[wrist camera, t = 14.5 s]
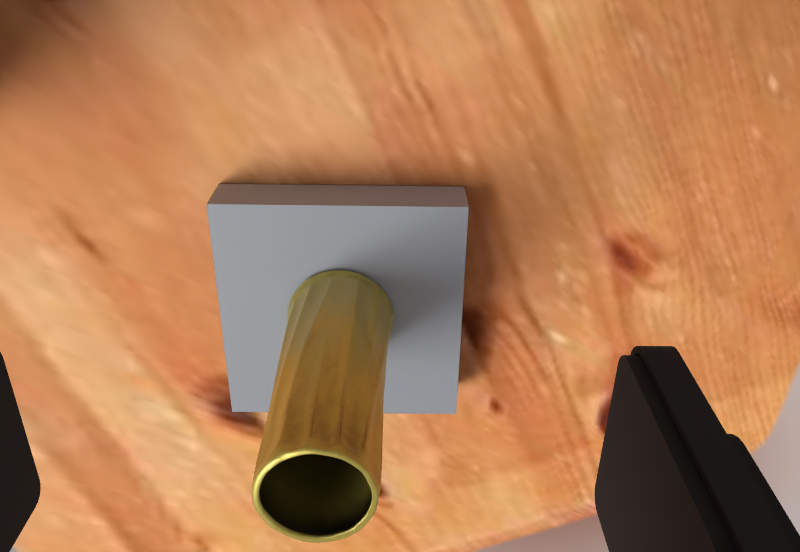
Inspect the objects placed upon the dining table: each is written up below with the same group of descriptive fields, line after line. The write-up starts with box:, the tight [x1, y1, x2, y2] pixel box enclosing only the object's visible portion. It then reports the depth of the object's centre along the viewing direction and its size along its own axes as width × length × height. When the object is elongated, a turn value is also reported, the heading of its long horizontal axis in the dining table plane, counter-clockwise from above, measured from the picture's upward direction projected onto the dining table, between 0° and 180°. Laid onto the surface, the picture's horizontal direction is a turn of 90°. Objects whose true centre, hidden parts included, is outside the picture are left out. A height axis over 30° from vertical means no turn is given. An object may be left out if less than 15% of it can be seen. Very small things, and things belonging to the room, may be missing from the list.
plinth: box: [207, 184, 469, 414], centre depth 44 cm, size 14×14×3 cm
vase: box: [252, 270, 394, 543], centre depth 36 cm, size 6×6×14 cm
